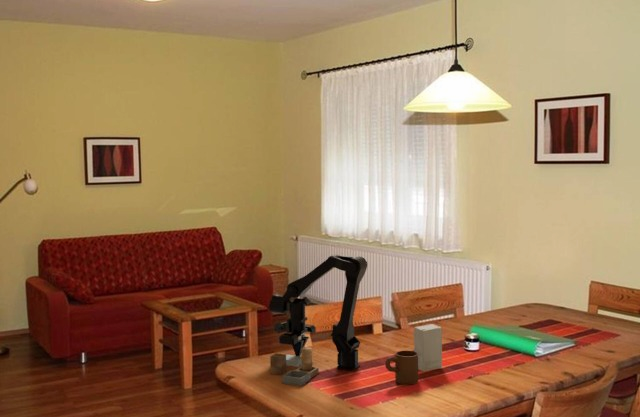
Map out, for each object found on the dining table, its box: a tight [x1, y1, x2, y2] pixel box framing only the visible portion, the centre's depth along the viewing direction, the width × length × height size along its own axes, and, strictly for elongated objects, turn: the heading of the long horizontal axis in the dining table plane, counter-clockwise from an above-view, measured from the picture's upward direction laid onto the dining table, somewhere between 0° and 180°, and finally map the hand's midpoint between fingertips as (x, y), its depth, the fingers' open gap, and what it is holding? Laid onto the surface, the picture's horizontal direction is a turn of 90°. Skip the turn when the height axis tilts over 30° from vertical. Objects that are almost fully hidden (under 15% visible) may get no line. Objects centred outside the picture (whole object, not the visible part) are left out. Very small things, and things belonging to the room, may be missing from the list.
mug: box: [384, 350, 419, 386], centre depth 226 cm, size 12×8×9 cm, turn 116°
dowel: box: [301, 346, 313, 372], centre depth 235 cm, size 4×4×9 cm
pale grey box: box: [285, 354, 302, 368], centre depth 248 cm, size 8×6×2 cm
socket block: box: [295, 365, 320, 379], centre depth 235 cm, size 6×6×2 cm
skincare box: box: [413, 323, 443, 372], centre depth 241 cm, size 8×6×15 cm
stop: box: [269, 352, 287, 376], centre depth 237 cm, size 4×4×6 cm
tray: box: [281, 369, 312, 387], centre depth 228 cm, size 7×7×2 cm
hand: (297, 357), depth 251 cm, fingers closed
